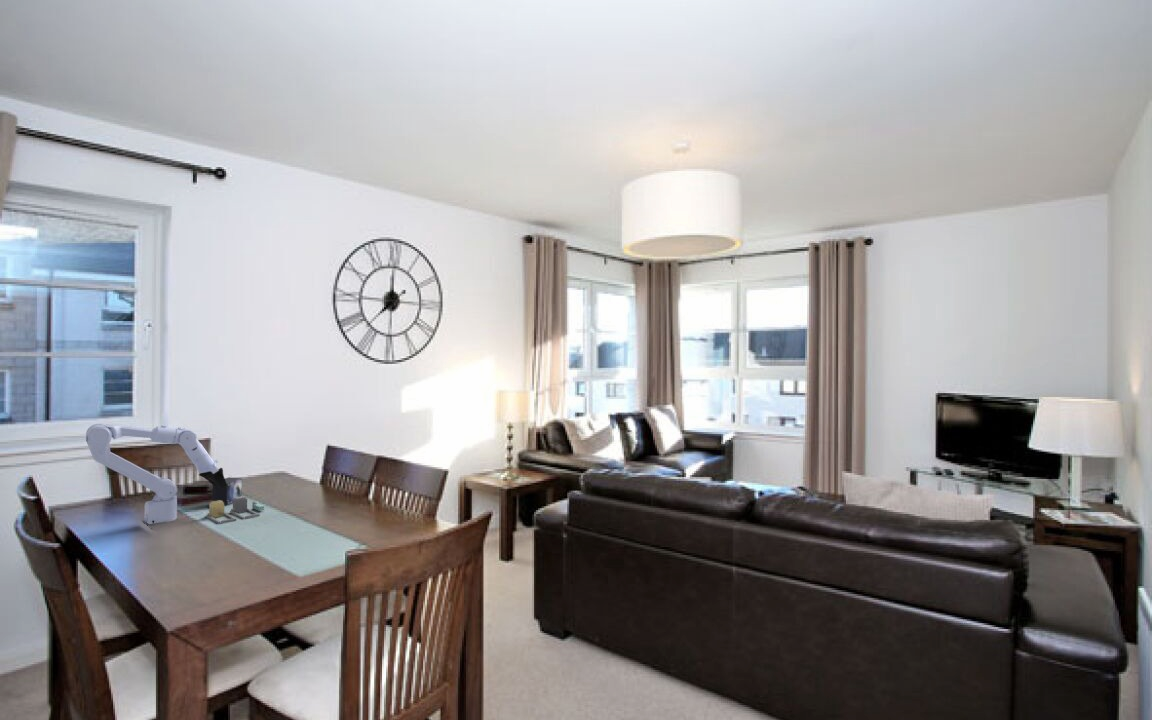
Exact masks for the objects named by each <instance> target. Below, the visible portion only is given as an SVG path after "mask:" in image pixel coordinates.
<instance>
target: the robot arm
mask: <svg viewBox="0 0 1152 720" xmlns="http://www.w3.org/2000/svg"><path fill="white" fill-rule="evenodd" d="M122 437H132V438H133V437H134V438H144V439H145V438H147V439H151V441H152V442H153V443H159V444H166V445H167V444H170V445H175V444H178V445H180V446H181V447H182V449H183V450H184V453H185V454H186V456H187V457H188V458H189V459H190V461H191V462H192V464H193V465H194V466H195V468H196V469H197V471H198V473H199V474H198V476H199V477H202V478H204V479H205V480H206V481H208V482H209V483H210V484H211V485H213V486H216V485H218V486H219V487H220V488H223V487H225V486H226V485H227V483H226V481H225V477H224V470H223V467H220V468H218V467H217V463H219V461H218V460H217V459H216V460H213V459H212V456H211V455H210V454H209V453H208V452H207V450H206V449H205V447H204V445H203V444H202V443H201V442H200V440H198V438H197V434H196V433H195V432H193V431H192V430H190V429H187V428H181V427H177V428H175V427H173V428H172V427H167V425H163V424H162V425H160V426H159V425H158V426H155V427H154V428H152V429H150V428H144V427H137V426H131V425H124V424H115V423H114V424H109V423H108V424H106V425H105V424H102V423H96V424H92V425H90V426H89V427H88V428H87V429H86V433H85V441H86V443H87V446H88V449H89V451H90V454H91V456H92V459H93V460H94V461H95V462H97V463H99V464H101V465H102V466H104V467H106V468H108V469H110V470H113V472H116V473H118V474H119V475H122V476H125V478H128V479H130V480H131V481H134V482H135V483H137V484H140V485H142V486H143V487H145V488H146V489H148V490H150V491H151V492H153V493H155V494H154V496H153V497H152V500H147V501H146V502H145V503H144V519H143V520H144V523H145V524H147V525H148V526H149V527H151V526H150V525H153V524H159V523H167V522H172V521H175V520H177V518H178V495H177V493H178V486H177V485H176V484H175V483H174V482H173V481H172V480H171V479H169V478H166V477H161V476H158V475H156V474H153V473H152V472H150V471H148V470H146V469H144V468H142V467H140V466H138V465H137V464H135V463H133V462H131V461H129V460H127V459H125V458H123V457H122V456H119V455H117V454H115V453H113V452H111V445H110V443H111V441H112V439H113V440H117V439H119V438H122ZM145 524H144V525H145ZM149 527H148V528H149Z"/></svg>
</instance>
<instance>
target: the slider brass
mask: <svg viewBox="0 0 1152 720" xmlns="http://www.w3.org/2000/svg"><path fill="white" fill-rule="evenodd" d="M208 504H209V509H208V513H209V516H211V517H213V518H215V519H217V518H220V517H225V516H224V512H225V506H224V502H223V501H221V500H218V501H212V500H211V501H210V502H209V503H208Z"/></svg>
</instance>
